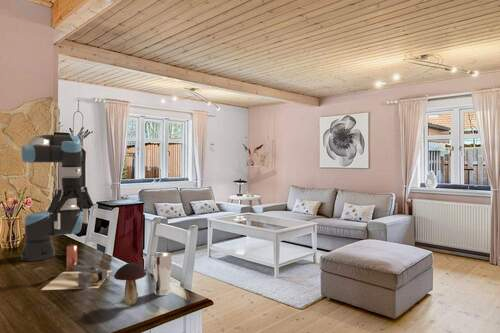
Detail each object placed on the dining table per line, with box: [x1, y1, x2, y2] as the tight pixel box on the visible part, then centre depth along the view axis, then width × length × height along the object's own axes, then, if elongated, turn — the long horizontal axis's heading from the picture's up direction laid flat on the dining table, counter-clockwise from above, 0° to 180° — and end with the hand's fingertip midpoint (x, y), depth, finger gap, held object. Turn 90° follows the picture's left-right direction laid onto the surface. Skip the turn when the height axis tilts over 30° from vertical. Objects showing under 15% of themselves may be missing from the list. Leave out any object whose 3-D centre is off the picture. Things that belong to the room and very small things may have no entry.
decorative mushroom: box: [113, 262, 148, 306], centre depth 122 cm, size 11×11×15 cm
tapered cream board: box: [40, 269, 113, 291], centre depth 143 cm, size 21×21×6 cm
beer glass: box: [152, 251, 173, 297], centre depth 133 cm, size 7×7×15 cm
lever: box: [66, 244, 108, 280], centre depth 146 cm, size 5×22×11 cm, turn 65°
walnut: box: [92, 273, 99, 283], centre depth 139 cm, size 4×4×4 cm
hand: (71, 225), depth 149 cm, fingers open, 13 cm apart
